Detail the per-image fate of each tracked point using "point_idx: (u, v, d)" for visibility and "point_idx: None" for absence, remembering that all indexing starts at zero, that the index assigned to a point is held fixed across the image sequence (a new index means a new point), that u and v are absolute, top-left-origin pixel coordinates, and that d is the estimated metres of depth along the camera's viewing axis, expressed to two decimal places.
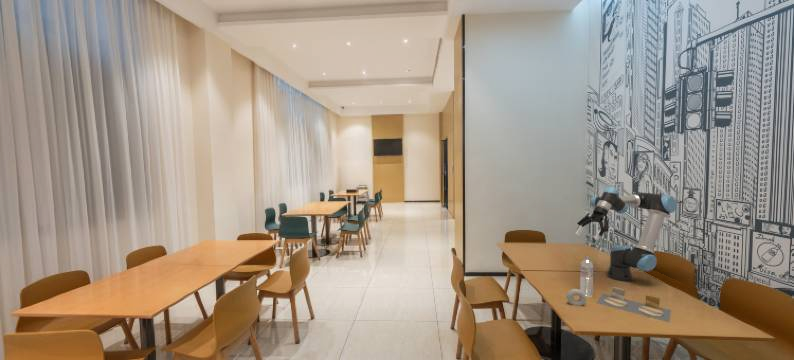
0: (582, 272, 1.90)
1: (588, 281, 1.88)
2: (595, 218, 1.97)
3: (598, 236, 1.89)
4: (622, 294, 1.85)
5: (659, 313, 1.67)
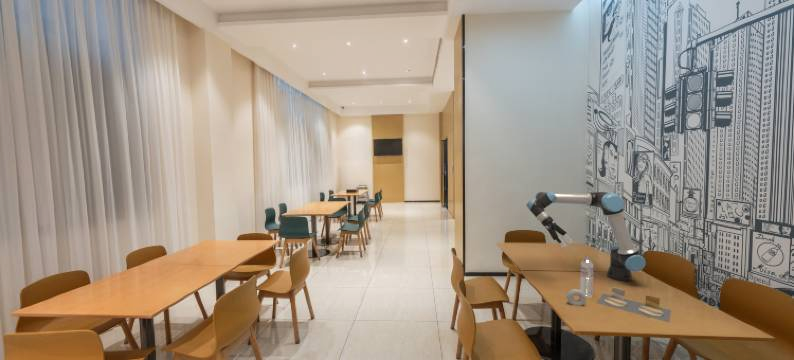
0: (582, 272, 1.90)
1: (588, 281, 1.88)
2: None
3: (561, 243, 2.01)
4: (622, 294, 1.85)
5: (659, 313, 1.67)
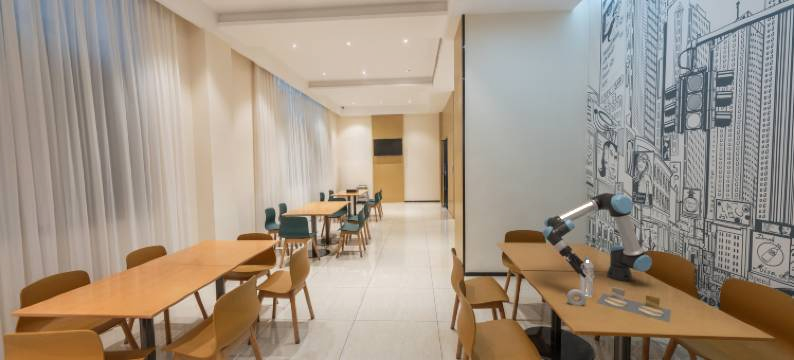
0: None
1: None
2: None
3: (586, 278, 1.88)
4: (622, 294, 1.85)
5: (659, 313, 1.67)
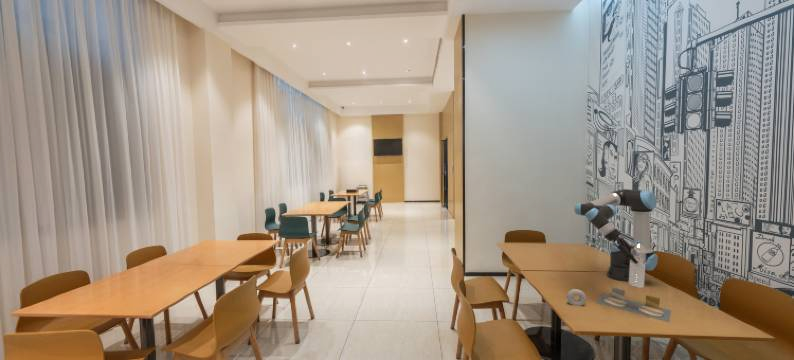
0: None
1: None
2: None
3: (638, 264, 1.69)
4: (622, 294, 1.85)
5: (659, 313, 1.67)
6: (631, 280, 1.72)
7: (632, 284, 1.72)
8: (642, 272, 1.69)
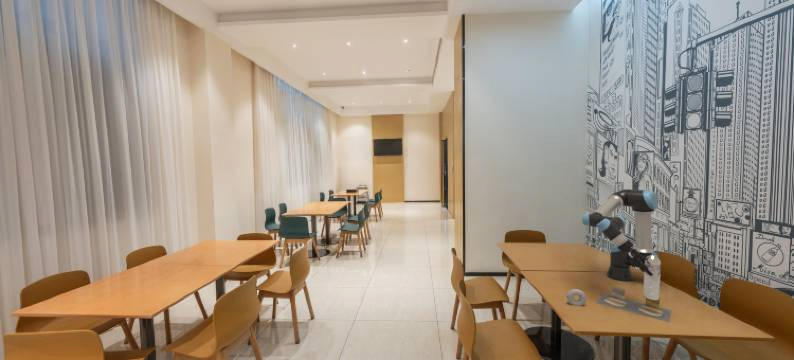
0: None
1: None
2: None
3: (653, 276, 1.66)
4: (622, 294, 1.85)
5: (659, 313, 1.67)
6: (646, 292, 1.69)
7: (647, 297, 1.69)
8: (657, 284, 1.66)
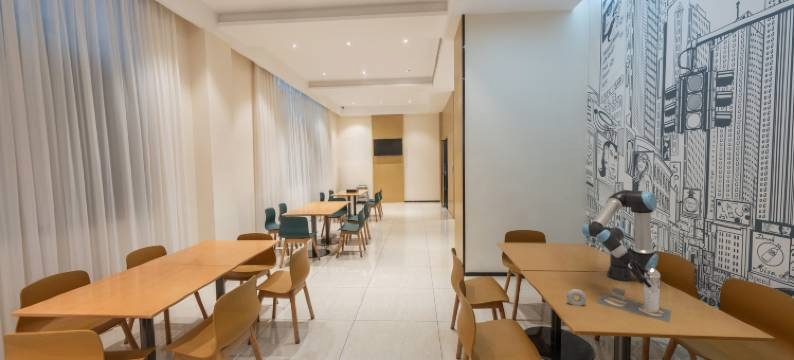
0: None
1: (655, 293, 1.67)
2: None
3: (651, 288, 1.66)
4: (622, 294, 1.85)
5: (659, 313, 1.67)
6: (646, 305, 1.70)
7: (647, 309, 1.69)
8: (657, 297, 1.67)
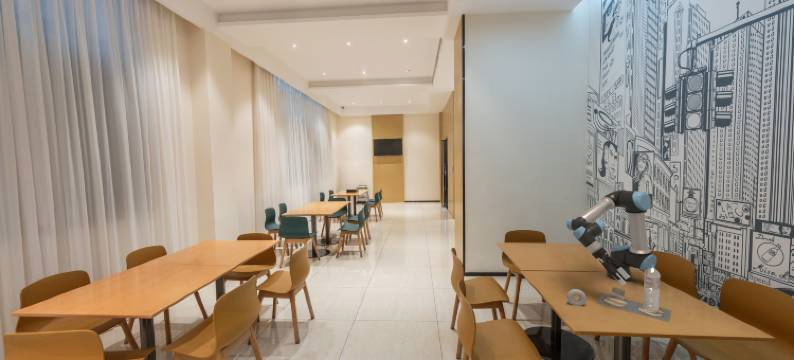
0: (647, 283, 1.69)
1: (655, 293, 1.67)
2: None
3: (620, 281, 1.74)
4: (622, 294, 1.85)
5: (659, 313, 1.67)
6: (646, 305, 1.70)
7: (647, 309, 1.69)
8: (657, 297, 1.67)
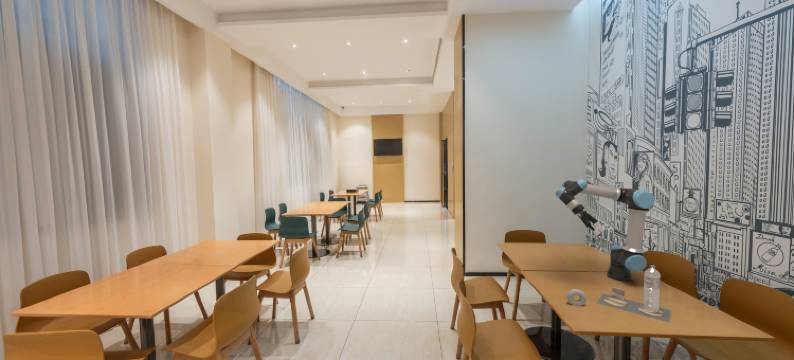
0: (647, 283, 1.69)
1: (655, 293, 1.67)
2: None
3: (595, 231, 1.97)
4: (622, 294, 1.85)
5: (659, 313, 1.67)
6: (646, 305, 1.70)
7: (647, 309, 1.69)
8: (657, 297, 1.67)
